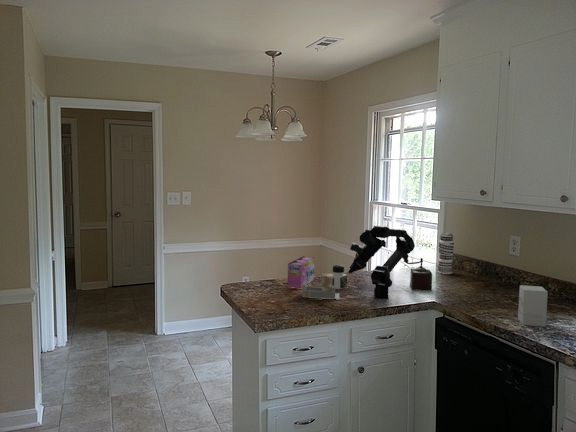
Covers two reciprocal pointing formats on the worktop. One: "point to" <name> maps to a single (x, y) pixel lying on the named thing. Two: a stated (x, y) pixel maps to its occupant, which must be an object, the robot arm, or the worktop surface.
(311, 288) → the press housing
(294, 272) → the gum box
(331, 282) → the beige cube with disc
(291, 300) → the worktop surface
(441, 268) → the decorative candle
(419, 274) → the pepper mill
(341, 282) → the medicine bottle
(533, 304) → the supplement box
